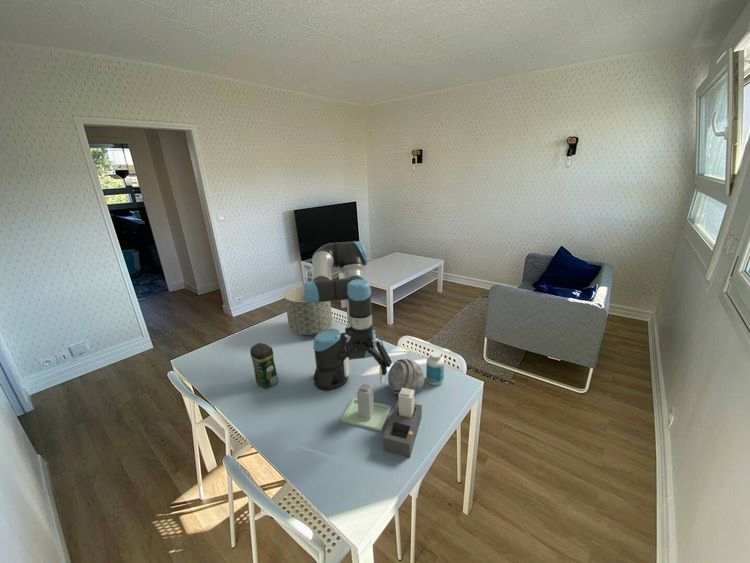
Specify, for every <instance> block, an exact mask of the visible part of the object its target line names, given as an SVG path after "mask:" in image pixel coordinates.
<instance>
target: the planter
mask: <svg viewBox="0 0 750 563" xmlns="http://www.w3.org/2000/svg"><path fill="white" fill-rule="evenodd" d="M284 303H285V308H286V310H285V311H286V317H287V322H288V328H289V330H290V332H292V333H293V334H296V335H302V336H306V335H307V336H313V335H315V334H316V335H317V334H318V333H320V332H321V331H324V330H327V329H330V327H331V326H332V325H333V316H332V315H333V314H332V303H331V301H326V302H318V303H316V302H315V303H308V302H306V300H305V294H304V285H301V286H297V287H294V288H291V289H289V290H288V291H287V292H285V294H284Z"/></svg>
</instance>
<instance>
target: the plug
mask: <svg viewBox="0 0 750 563" xmlns="http://www.w3.org/2000/svg"><path fill="white" fill-rule="evenodd" d="M356 393H357V394H356V396H357V397H356V398H358V411H359V417H360V418H364V419H368V420H370V419H371V417H372V415H373V413H374V402H375V400H374V398H375V396H374V386H373V385H372V384H366V383H364V382H363V383H361V384H360V385H359V387H358V388H357V390H356Z"/></svg>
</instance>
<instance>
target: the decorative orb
mask: <svg viewBox="0 0 750 563" xmlns="http://www.w3.org/2000/svg"><path fill="white" fill-rule="evenodd" d="M424 374H425V373H424V371H423V369H422V367H421V365H420V364H419V363H417V362H416V361H414V360H412V359H409V358H400V359H397V360H396V361H394V362H393V364H391V366H390V367H389V371H388V375H387V379H388V380H387V381H388V386H389V388H390V391H391V392H393V393H394V394H395V395H397V396H399V394H400V391H401V389H402V388H407V389H412V390H414V396H416V395H417V394H418V393H419V392H420V391H421V390H422V388H423V386H424V385H425V384H424V383H425V375H424Z"/></svg>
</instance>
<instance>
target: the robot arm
mask: <svg viewBox="0 0 750 563" xmlns="http://www.w3.org/2000/svg"><path fill="white" fill-rule="evenodd" d="M311 264H312V274H311V275H312V276H311V280H310V281H307V282H304V284H303V286H304V294H305V300H306V302H308V303H315V302H316V303H318V302H326V301H330V302H334V301H335V302H336V301H338V302H339V301H344V300H345V304H346V316H347V325H346V327H345V328H344V330H345V331H344V332H341V331H340V330H339V329H336V328H328V329H326V330H324V331H321V332H319V333H317V334H316V335H315V336H314V338H313V351H314V358H315V359H314V360H315V371H314V375H313V382H314V386H315V387H316V388H317V389H318V390H321V391H324V392H325V391H326V392H330V391H333V390H337V389H339V388H342V387H343V386H345V384H346V383H347V382H348V381H349V375H350V373H351V370H350V360H359V359H360V360H361V359H367V358H373V359H374V360H375V361H376V363H377V364H378V365H379V384H380V385H383V383H384V381H385V375H387V373H388V368H391V366H392V363H393V361H392V360H391V358H390V356H389V354H388V351H387V350H386V348H385V346H384V344H383V339H382V338H379V339H376V338H377V336H376V330H375V329H374V328H373V315H372V289H371V283H370V282H369V280H366V279H365V278H364V277H363V271H365V269H366V266H367V265H368V255H367V251H366V247H365V244H364V243H363V242H362V241H357V240H356V241H355V240H353V241H345V242H344V241H342V242H341V241H340V242H328V243H326V244H324V245H322V246H320V247H319V248H318V249H317V250H315V252H314V253H313V254H312V258H311ZM333 268H334V269H335V268H339V271H340V273H342V274H343V278H338V279H332V278H333V276H332V274H333V273H332V269H333Z"/></svg>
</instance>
